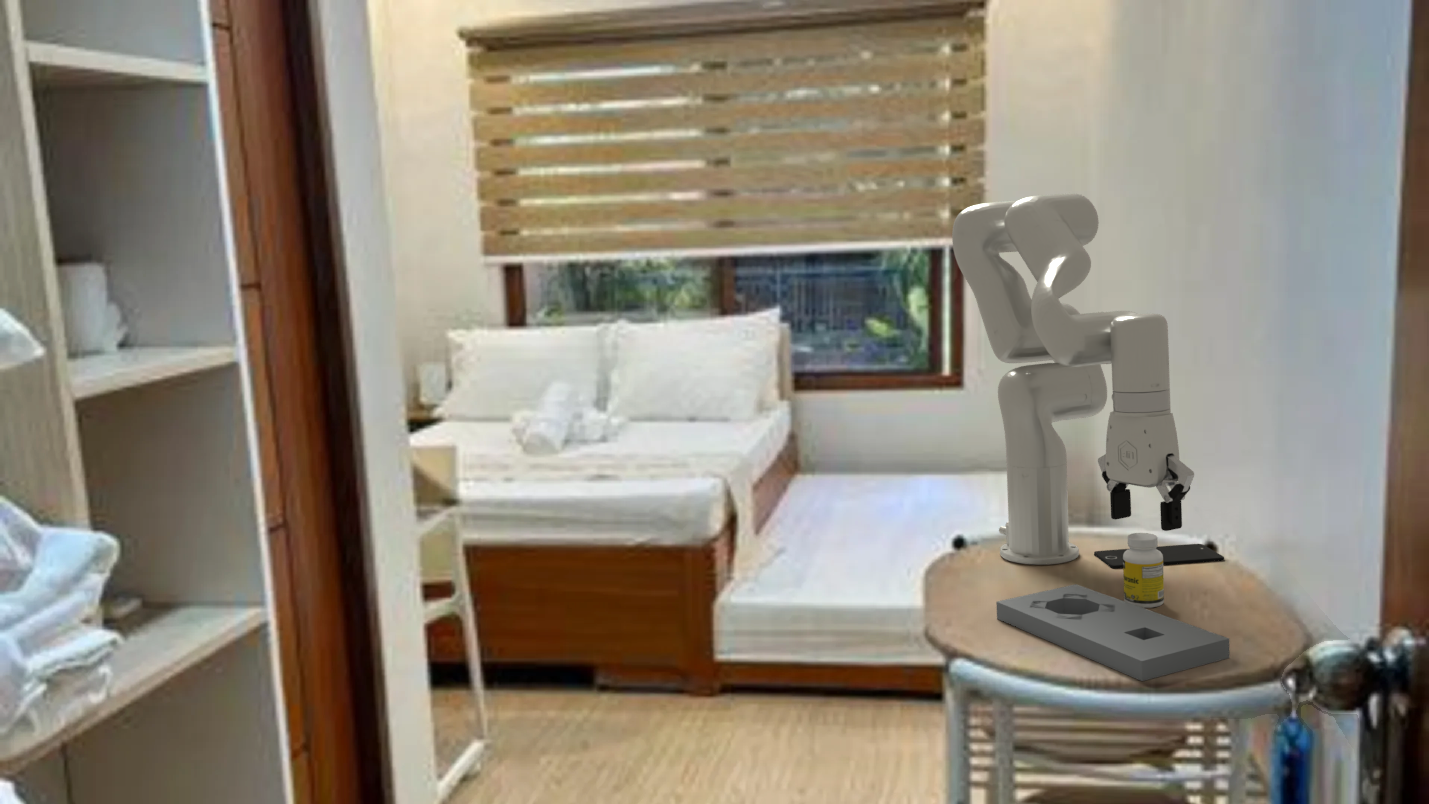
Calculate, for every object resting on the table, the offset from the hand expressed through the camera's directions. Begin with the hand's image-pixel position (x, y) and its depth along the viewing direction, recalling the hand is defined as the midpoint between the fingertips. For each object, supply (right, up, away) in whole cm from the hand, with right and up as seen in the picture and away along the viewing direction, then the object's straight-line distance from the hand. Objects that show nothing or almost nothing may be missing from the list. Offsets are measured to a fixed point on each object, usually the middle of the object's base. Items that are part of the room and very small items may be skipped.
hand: (1145, 523), depth 169 cm
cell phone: (+11, -9, +24) cm, 28 cm away
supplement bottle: (+1, -12, +2) cm, 12 cm away
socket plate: (-9, -14, -10) cm, 20 cm away
